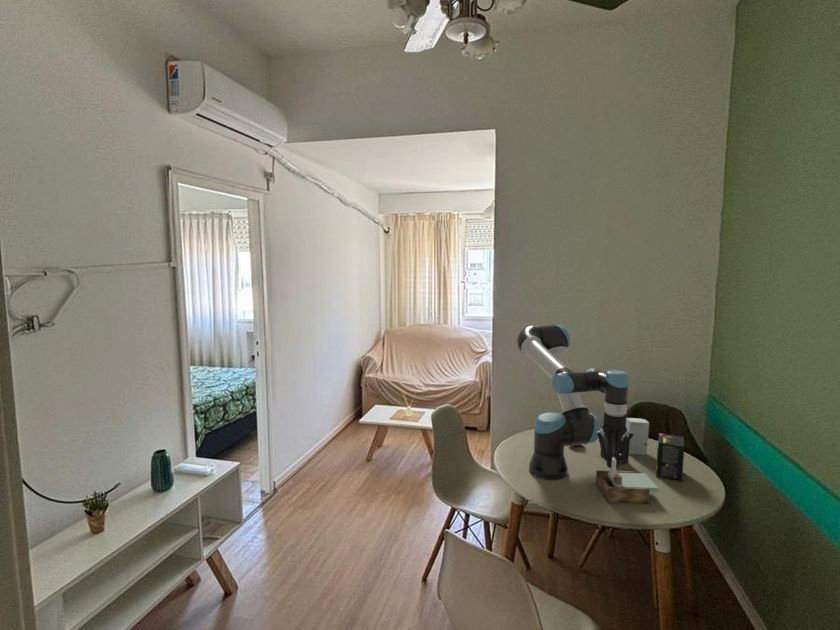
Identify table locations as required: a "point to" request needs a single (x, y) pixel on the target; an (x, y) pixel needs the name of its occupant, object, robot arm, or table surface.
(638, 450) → the skincare box
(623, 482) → the cover plate
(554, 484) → the table surface
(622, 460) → the small box
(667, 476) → the tampon box
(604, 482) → the box
